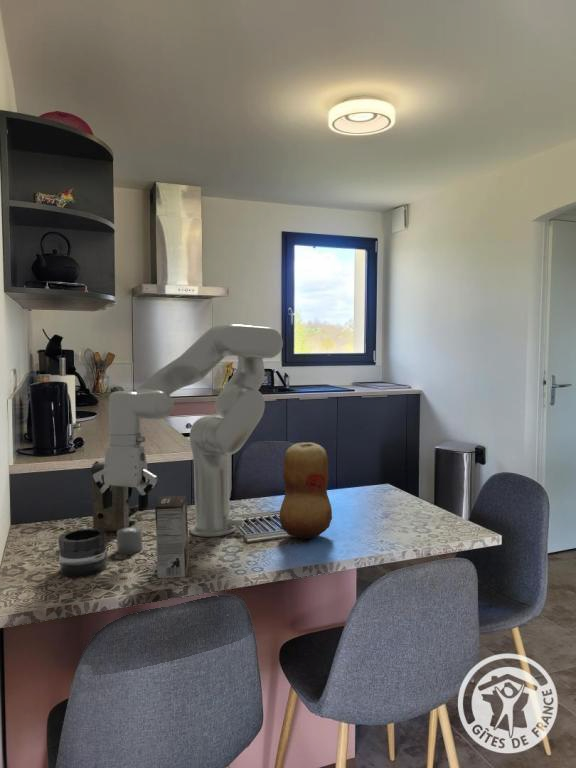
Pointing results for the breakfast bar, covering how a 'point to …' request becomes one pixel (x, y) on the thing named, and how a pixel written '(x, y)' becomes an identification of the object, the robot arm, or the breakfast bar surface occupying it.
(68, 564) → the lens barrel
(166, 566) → the coffee box
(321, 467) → the butternut squash
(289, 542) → the breakfast bar surface
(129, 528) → the white rounded cube
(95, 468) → the vintage camera
